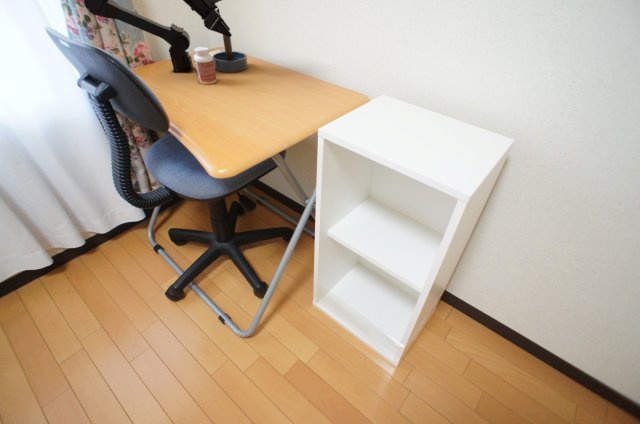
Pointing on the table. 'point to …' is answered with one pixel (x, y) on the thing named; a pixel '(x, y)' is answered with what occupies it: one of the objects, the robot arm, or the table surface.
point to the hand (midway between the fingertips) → (230, 33)
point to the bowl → (230, 62)
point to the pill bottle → (204, 65)
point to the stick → (228, 48)
